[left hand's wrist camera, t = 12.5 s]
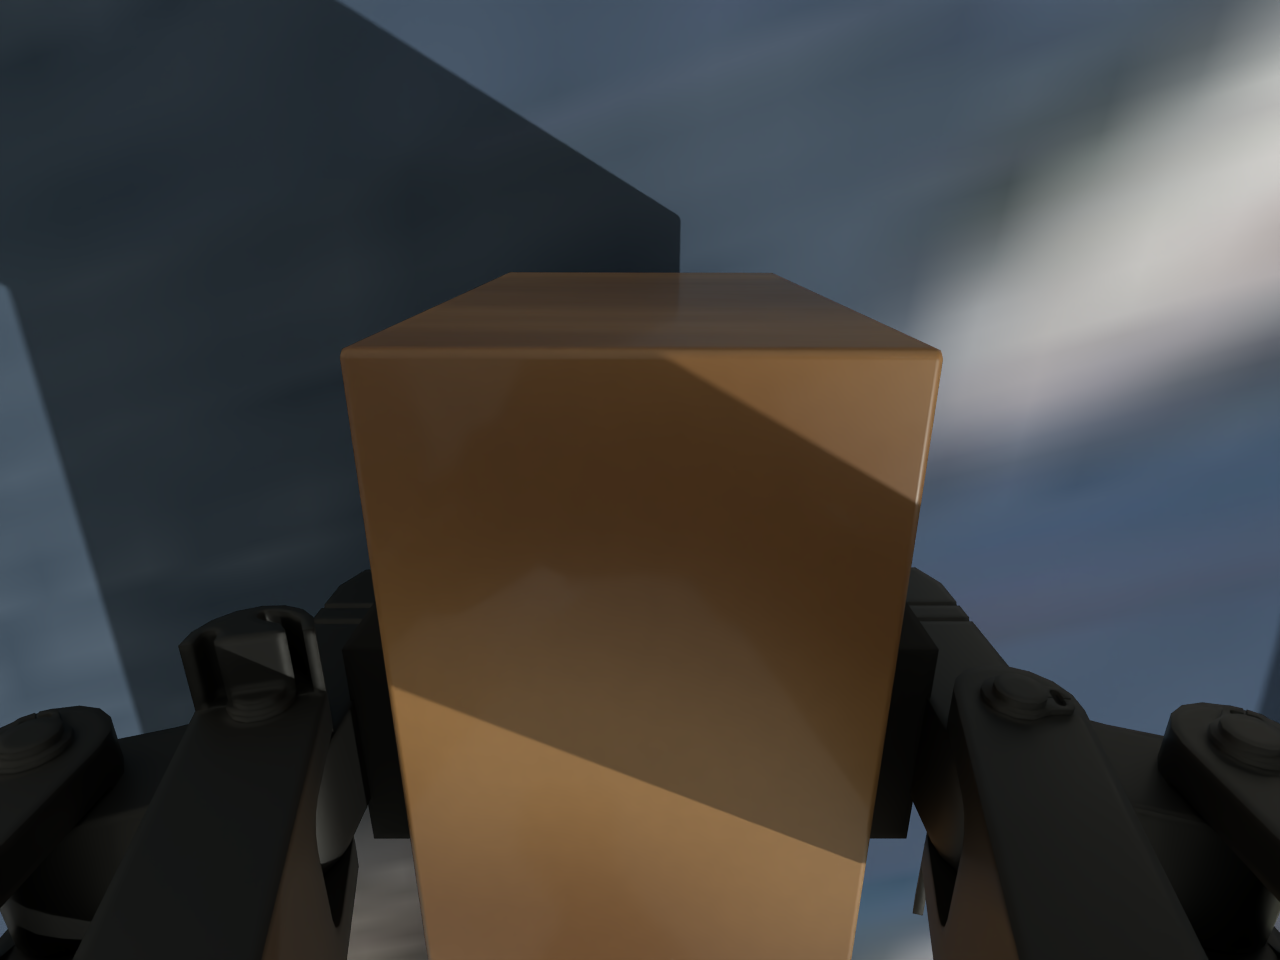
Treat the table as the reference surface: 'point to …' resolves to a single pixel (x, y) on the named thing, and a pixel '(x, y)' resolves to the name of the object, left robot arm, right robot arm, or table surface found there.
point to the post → (640, 606)
